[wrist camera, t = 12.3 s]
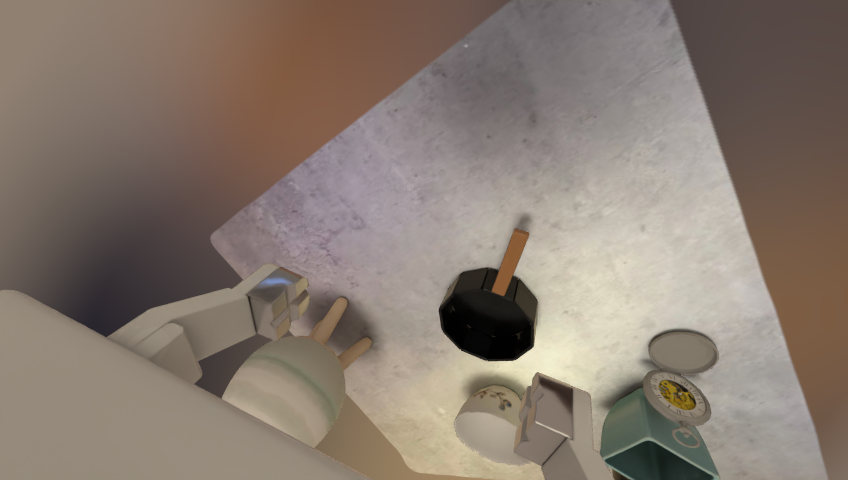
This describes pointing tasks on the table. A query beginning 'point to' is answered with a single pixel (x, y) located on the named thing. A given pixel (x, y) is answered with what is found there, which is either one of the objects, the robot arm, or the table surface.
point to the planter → (297, 381)
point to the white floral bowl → (491, 424)
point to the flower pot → (651, 444)
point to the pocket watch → (680, 379)
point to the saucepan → (492, 309)
